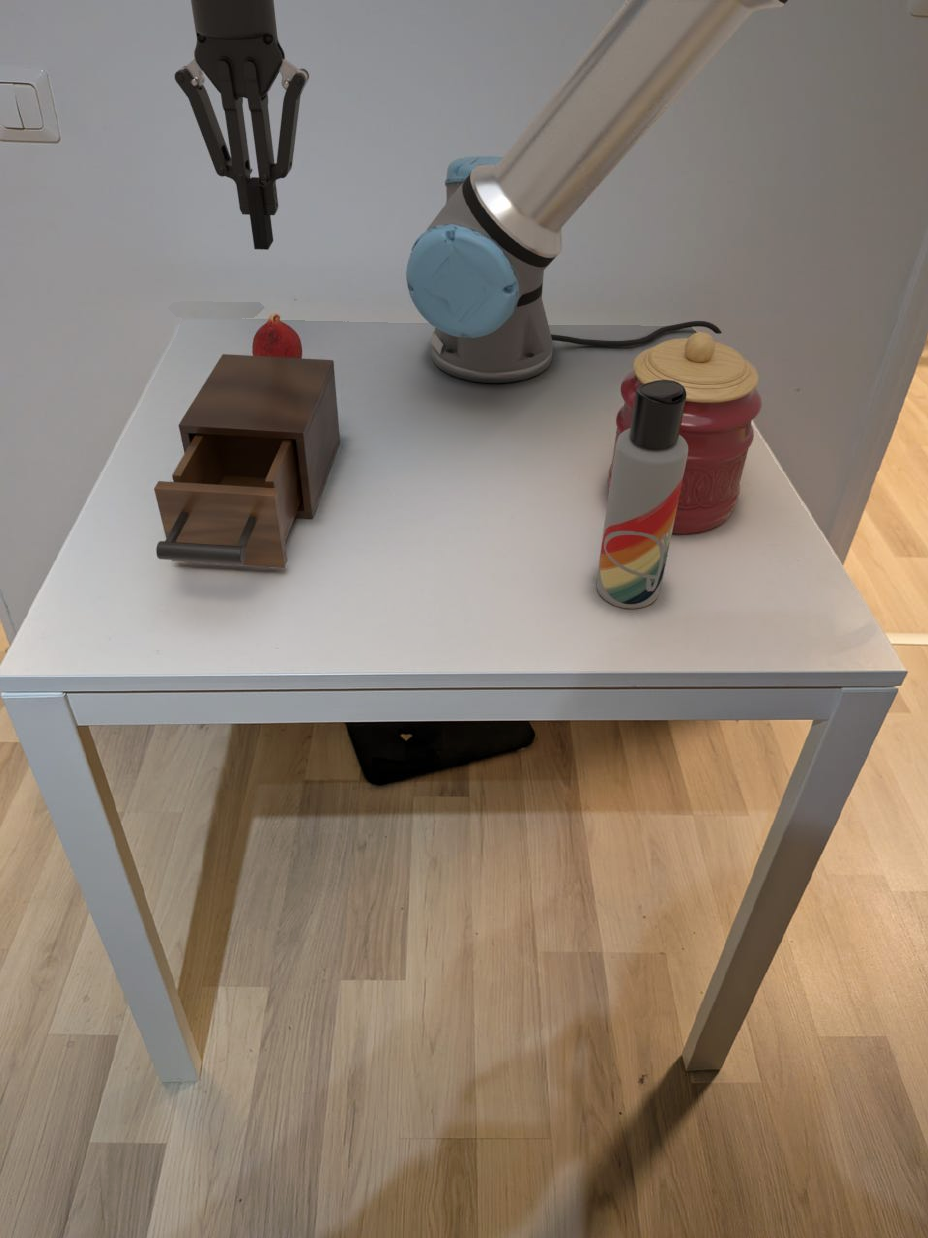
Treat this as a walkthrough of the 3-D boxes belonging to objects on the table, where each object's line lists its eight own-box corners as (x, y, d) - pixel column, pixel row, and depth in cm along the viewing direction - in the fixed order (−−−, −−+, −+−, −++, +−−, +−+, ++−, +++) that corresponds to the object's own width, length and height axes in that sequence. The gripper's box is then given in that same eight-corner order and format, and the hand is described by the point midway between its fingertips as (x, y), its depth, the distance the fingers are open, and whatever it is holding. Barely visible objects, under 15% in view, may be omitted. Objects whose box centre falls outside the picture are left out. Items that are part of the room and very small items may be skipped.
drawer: (269, 611, 79) (257, 537, 74) (149, 603, 80) (129, 528, 74) (315, 485, 93) (308, 416, 88) (213, 479, 94) (200, 410, 89)
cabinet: (312, 519, 91) (303, 432, 84) (196, 511, 91) (178, 425, 85) (340, 441, 102) (333, 359, 95) (236, 435, 102) (222, 353, 96)
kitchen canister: (752, 489, 96) (796, 325, 84) (707, 553, 88) (748, 381, 76) (637, 452, 101) (663, 292, 89) (583, 509, 93) (604, 341, 81)
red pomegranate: (295, 392, 110) (288, 327, 104) (249, 386, 111) (239, 322, 105) (311, 370, 114) (305, 306, 109) (266, 365, 115) (258, 302, 110)
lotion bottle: (630, 619, 80) (667, 412, 67) (582, 587, 84) (609, 383, 70) (672, 592, 83) (716, 388, 70) (624, 562, 86) (657, 361, 73)
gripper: (147, -13, 83) (195, 255, 98) (292, -9, 82) (317, 259, 98) (172, -25, 88) (213, 230, 104) (308, -22, 88) (329, 234, 103)
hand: (264, 244), depth 101 cm, fingers closed
